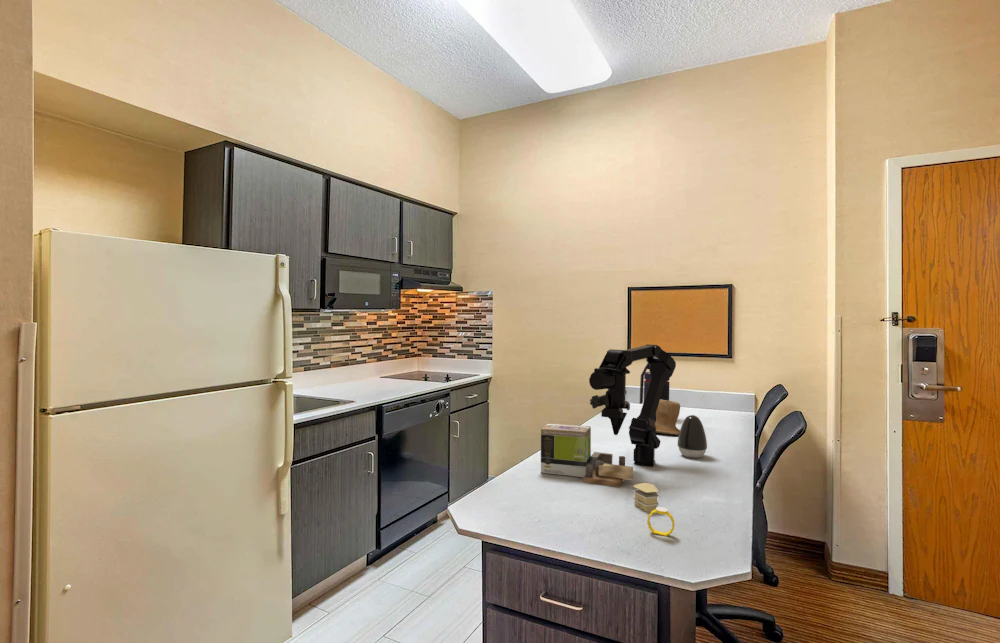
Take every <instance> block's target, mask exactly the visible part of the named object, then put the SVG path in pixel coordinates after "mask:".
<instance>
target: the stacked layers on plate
mask: <svg viewBox="0 0 1000 643" xmlns="http://www.w3.org/2000/svg"><path fill="white" fill-rule="evenodd" d="M633 487H634V488H636V489H633V493H634V494H635V495H634V497H633V501H634V506H635V507H636V508H637V507H638V508H640V509H641V510H643V511H645V512H647V513H648V512H652V511H653V510H655V509H656V507H658V506H659V505H660V504H659V502H658V498H659V497H660V496H659V495H658V492H660V491H659V490H658V488H657V487H656V486H655V485H654V484H652V483H647V482H641V483H636V484H633Z"/></svg>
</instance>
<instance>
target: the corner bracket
mask: <svg viewBox="0 0 1000 643" xmlns="http://www.w3.org/2000/svg"><path fill="white" fill-rule="evenodd" d="M613 458H614V457H613V453H607V452H599V451H594V452H593V453H591V459H590V465H593V469H594V470H596V461H597V460H600V461H603V462H604V463H606V464H613Z"/></svg>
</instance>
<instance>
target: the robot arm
mask: <svg viewBox="0 0 1000 643" xmlns="http://www.w3.org/2000/svg"><path fill="white" fill-rule="evenodd" d="M643 359H646V362H647V363H648V364H649V365H650V368H649V369H648V372H650V374H651V380H650V383H649V387H648V390H647V393H646V396H645V400H644V399H643V403H642V406H641V409H640V414H639V415H638V416H636V417H632V419H631V420H630V421H631V422H630V426H629V427H628V429H629V430H628V435H629V439H630V444H631V445H635V447H634V448H633V462H634V463H633V464H634V465H639V466H646V467H655V464H656V460H655V458H656V457H655V455H656V453H655V452H656V449H658V448H660V445H661V440H660V439H659V437H658V436H657V433H655V432H656V426H655V422H654V418H655V414H656V411H657V408H658V404H659V401H660V398H661V394H662V391H663V388H664V384H665V382H666V381H667V380H668V379H669V378H671V377H672V376H673V374H674V372H675V369H676V365H677V362H676V360H674V359H675V358H673V357H672V356H671V354H670V353H668V352H666V351H665V350H663V349H662V348H661V346H659V345H657V344H650V343H649V344H645V345H642V346H637V347H633V348H628V349H613V348H611V349H608V350H607V351H606V354H605V355H604V357H603V359H602V361H601V363H600V365H599V367H598V368H597V367H596V368H594V369H593V372H592V373H591V374H590V376H589V378H588V382H589V386H590V388H592V389H593V390H595V391H599V390H605V394H602V395H598V394H596V395H593V396H591V398H590V399H589V404H590V405H591V407H592V409H597V408H598V407H602V406H604V408H603V409H601V414H600V415H601V418H608V419H609V420H610V424H611V428H612V432H613V435H614V436H618V434H619V433H620V430H621V428H622V426H623V424H624V421H625V419H626V417H627V415H628V413H627V412H624V410H623V409H625V410H626V411H630V410H631V404H630V402H629V400H626V395H627V391H628V390H626V386H627V385H626V382H627V380H626V377H627V374H629V375H630V374H631V371H630V370H629V369H628V367H629V366H632V364H633V362H636V361H640V360H643Z"/></svg>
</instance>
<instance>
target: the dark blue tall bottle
mask: <svg viewBox="0 0 1000 643" xmlns="http://www.w3.org/2000/svg"><path fill="white" fill-rule="evenodd" d="M649 368H650V365H649V364H648V362H647V363H646V365H645V367H644V368H643V371H642V372H641V374H640V384H639V385H640V386H639V405H641V404H643V403H644V400H645V396H646V393H647V390H648V387H649V383H650V380H651V374H650V371H647V370H649ZM670 378H671V377H670ZM670 378H669V379H668V380H667V381H666V382H665V384H664V388H663V391H662V394H661V398H660V399H661V400H667V401H670ZM655 422H656V414H655V418H654V423H655Z"/></svg>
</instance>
